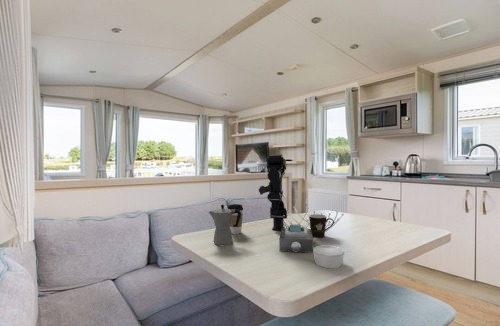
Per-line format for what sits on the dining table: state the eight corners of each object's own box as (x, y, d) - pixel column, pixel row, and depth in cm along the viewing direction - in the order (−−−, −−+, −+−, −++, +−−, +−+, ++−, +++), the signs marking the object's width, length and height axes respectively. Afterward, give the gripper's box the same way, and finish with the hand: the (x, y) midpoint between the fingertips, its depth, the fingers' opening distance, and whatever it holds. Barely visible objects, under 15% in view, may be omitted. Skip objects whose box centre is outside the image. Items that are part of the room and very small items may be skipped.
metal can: (290, 242, 124) (290, 224, 124) (301, 243, 123) (301, 224, 123) (289, 246, 119) (289, 226, 119) (301, 246, 118) (300, 227, 118)
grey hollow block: (281, 239, 131) (281, 224, 131) (311, 240, 128) (311, 225, 128) (279, 252, 113) (278, 234, 113) (313, 254, 111) (313, 236, 111)
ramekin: (335, 257, 108) (335, 244, 107) (350, 268, 96) (350, 253, 96) (308, 259, 106) (308, 246, 105) (320, 271, 95) (320, 256, 94)
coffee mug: (307, 237, 134) (306, 217, 134) (311, 232, 142) (311, 213, 142) (331, 240, 129) (330, 219, 129) (334, 235, 137) (334, 215, 136)
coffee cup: (225, 234, 142) (224, 205, 142) (232, 229, 150) (231, 202, 149) (239, 235, 139) (239, 206, 138) (246, 231, 147) (245, 203, 146)
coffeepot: (207, 246, 123) (207, 206, 122) (210, 239, 132) (209, 203, 132) (241, 245, 123) (241, 206, 123) (241, 239, 133) (241, 202, 132)
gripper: (262, 178, 145) (262, 207, 146) (256, 181, 127) (257, 214, 127) (282, 178, 143) (283, 207, 144) (280, 181, 125) (280, 215, 125)
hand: (275, 211), depth 135 cm, fingers open, 9 cm apart
